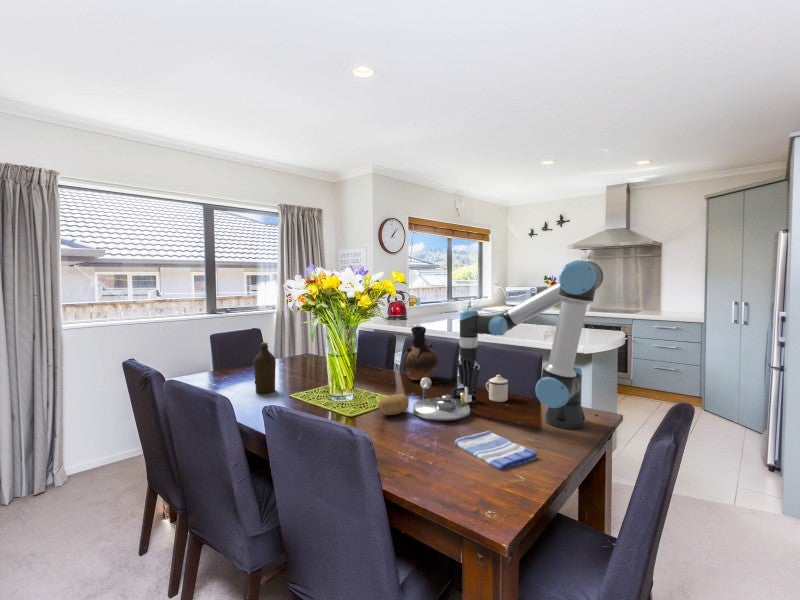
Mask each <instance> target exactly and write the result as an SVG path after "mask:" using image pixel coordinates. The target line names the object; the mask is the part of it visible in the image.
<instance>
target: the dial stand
mask: <svg viewBox="0 0 800 600" xmlns="http://www.w3.org/2000/svg"><path fill="white" fill-rule="evenodd" d="M419 381H420V383H419V384H420V386H421V388H422V400H423V399H428V389H429V388H431V386H432V380H431V378H427V377H424V378H422V379H421V380H419Z"/></svg>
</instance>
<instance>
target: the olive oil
mask: <svg viewBox="0 0 800 600" xmlns="http://www.w3.org/2000/svg"><path fill="white" fill-rule="evenodd" d="M268 344H269V343H268V342H261V343H260V351H259V353H258V354H256V355H255V357H254V359H253V367H254V368H253V371H254V385H255V393H256V394H259V395H265V394H267V395H268V394H271V393H275V392H276V365H277V364H276V362H277V361H276V357H275V356H274V355H273V353H272V352H270V350H269V345H268Z"/></svg>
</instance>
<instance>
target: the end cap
mask: <svg viewBox="0 0 800 600" xmlns="http://www.w3.org/2000/svg"><path fill="white" fill-rule="evenodd" d="M462 392H464V387H458V388H453V389H451V392H450V395H451V399H456V400H460V401H461V393H462ZM473 394H475V395H473ZM473 394H472V402H466V403H467V404H468V405H473V404H476V402H477V401H476V400H477V396H476V395H477V390H475V389H473Z"/></svg>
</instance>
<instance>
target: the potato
mask: <svg viewBox="0 0 800 600" xmlns="http://www.w3.org/2000/svg"><path fill="white" fill-rule="evenodd" d="M377 406H378V408H379V410H380V411H381V412H382V413H384V414H385V415H387V416H395V415H398V414H401V413H403V412H405V411H406V410H407V409H408V408H409V398H408V397H407V395H405V394H404V393H399V394H390V395H388V396H385V397H383V398H381V399H380V400H379V401H378V405H377Z"/></svg>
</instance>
